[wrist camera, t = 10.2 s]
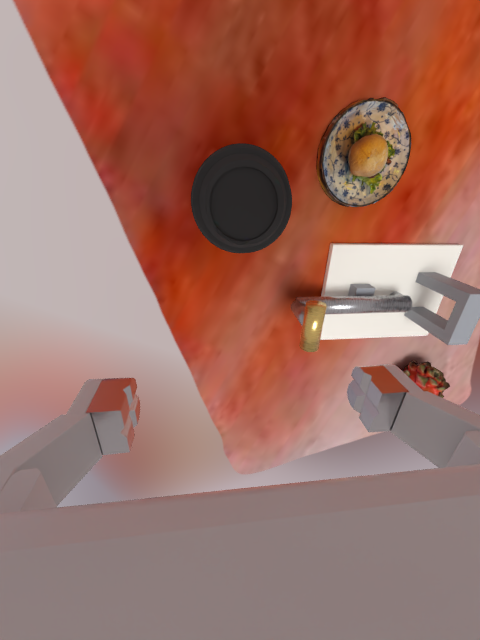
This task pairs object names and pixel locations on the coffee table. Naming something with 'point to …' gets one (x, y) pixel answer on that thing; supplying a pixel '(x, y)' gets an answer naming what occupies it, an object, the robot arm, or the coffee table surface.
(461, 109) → the coffee table surface
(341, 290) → the board
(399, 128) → the burger
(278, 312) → the coffee table surface
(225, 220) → the coffee cup
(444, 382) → the dragon fruit
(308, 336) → the hook
